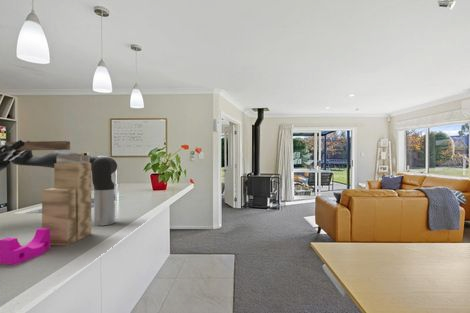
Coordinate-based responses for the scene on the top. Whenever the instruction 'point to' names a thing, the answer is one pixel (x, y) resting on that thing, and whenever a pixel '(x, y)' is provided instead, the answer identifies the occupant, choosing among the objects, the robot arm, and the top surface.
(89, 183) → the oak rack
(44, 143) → the walnut bar
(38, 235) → the toy block
